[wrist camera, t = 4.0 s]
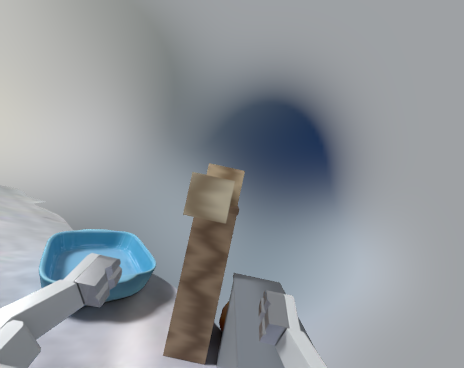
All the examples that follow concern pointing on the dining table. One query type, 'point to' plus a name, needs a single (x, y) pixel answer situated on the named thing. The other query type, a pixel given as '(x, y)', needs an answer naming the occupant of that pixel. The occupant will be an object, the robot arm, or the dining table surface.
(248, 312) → the storage box
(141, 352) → the dining table surface
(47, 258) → the casserole dish
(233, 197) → the mallet
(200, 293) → the shelf block
